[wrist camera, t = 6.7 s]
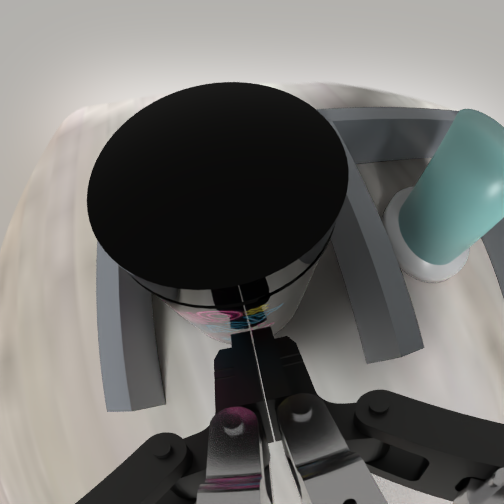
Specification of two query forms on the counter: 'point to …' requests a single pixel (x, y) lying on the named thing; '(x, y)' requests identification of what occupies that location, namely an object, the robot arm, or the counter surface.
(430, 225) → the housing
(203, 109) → the supplement container
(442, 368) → the counter surface
